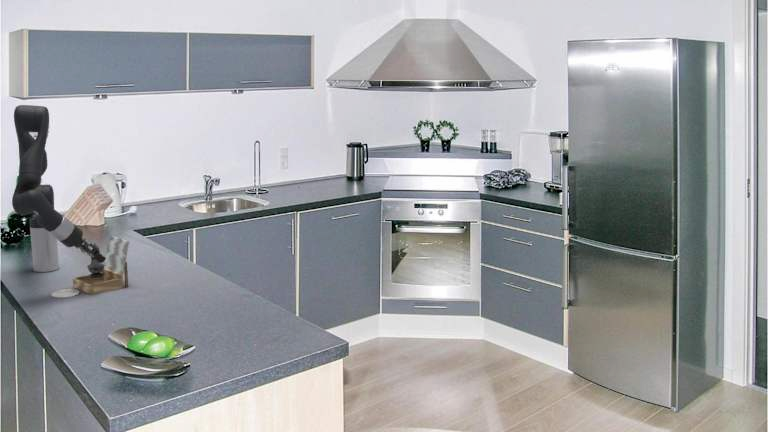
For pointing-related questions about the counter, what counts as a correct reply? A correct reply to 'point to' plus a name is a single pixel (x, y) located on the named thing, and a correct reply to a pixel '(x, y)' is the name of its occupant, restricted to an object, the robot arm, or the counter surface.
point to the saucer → (65, 293)
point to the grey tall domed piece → (95, 266)
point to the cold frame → (107, 270)
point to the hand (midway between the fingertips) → (100, 259)
